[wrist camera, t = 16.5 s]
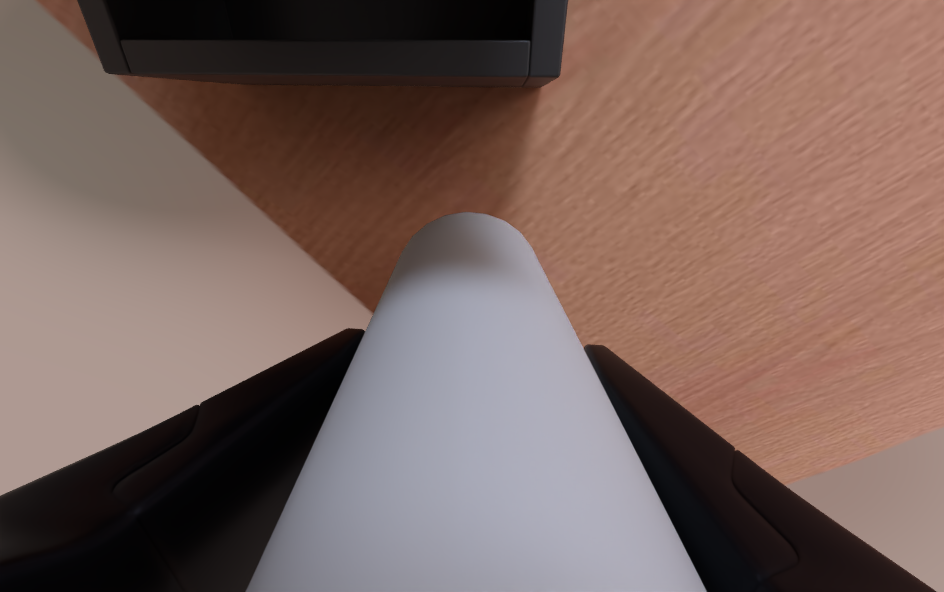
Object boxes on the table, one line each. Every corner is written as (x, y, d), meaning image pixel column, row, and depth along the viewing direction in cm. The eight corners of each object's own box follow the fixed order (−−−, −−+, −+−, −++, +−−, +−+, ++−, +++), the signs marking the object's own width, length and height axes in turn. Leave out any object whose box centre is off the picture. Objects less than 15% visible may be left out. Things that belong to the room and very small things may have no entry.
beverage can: (492, 177, 11) (931, 1177, 1) (560, 296, 13) (964, 1065, 3) (370, 255, 12) (-218, 1131, 2) (448, 354, 14) (399, 1077, 4)
